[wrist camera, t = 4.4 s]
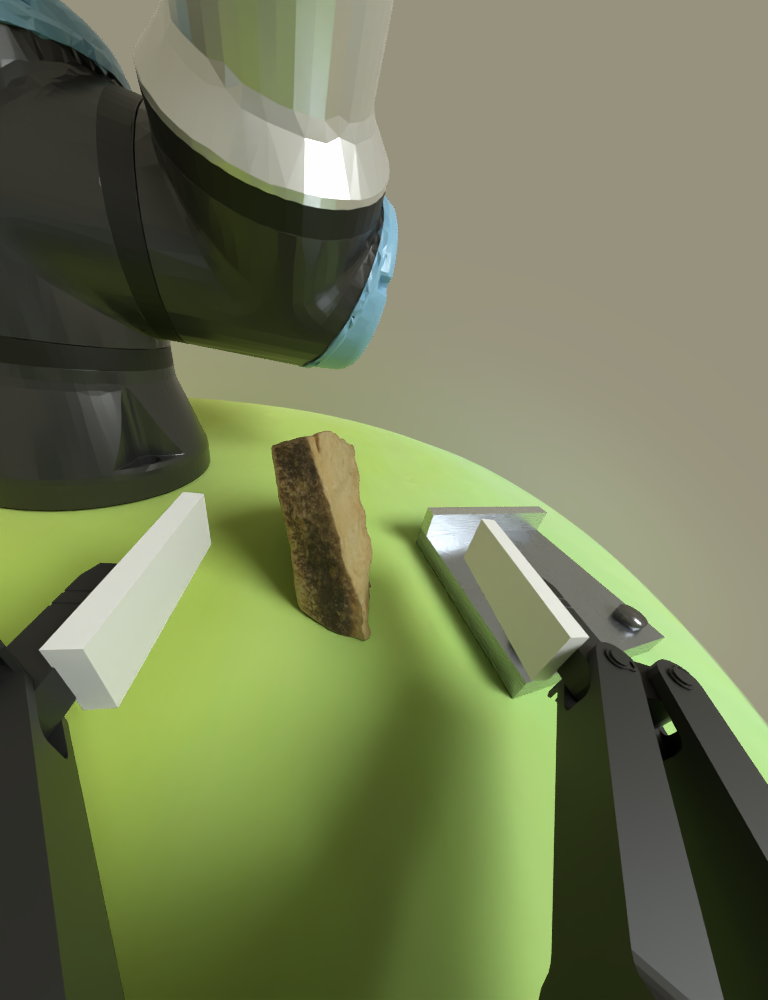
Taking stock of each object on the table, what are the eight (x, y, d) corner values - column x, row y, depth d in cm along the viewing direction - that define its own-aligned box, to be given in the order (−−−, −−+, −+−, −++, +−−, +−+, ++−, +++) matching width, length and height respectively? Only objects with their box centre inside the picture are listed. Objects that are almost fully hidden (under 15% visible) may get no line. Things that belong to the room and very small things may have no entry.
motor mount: (416, 542, 23) (428, 507, 22) (521, 535, 28) (538, 506, 26) (512, 698, 14) (547, 660, 12) (648, 650, 18) (688, 617, 17)
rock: (302, 476, 24) (196, 516, 15) (374, 414, 20) (291, 418, 11) (374, 575, 25) (313, 669, 16) (457, 532, 21) (439, 623, 12)
